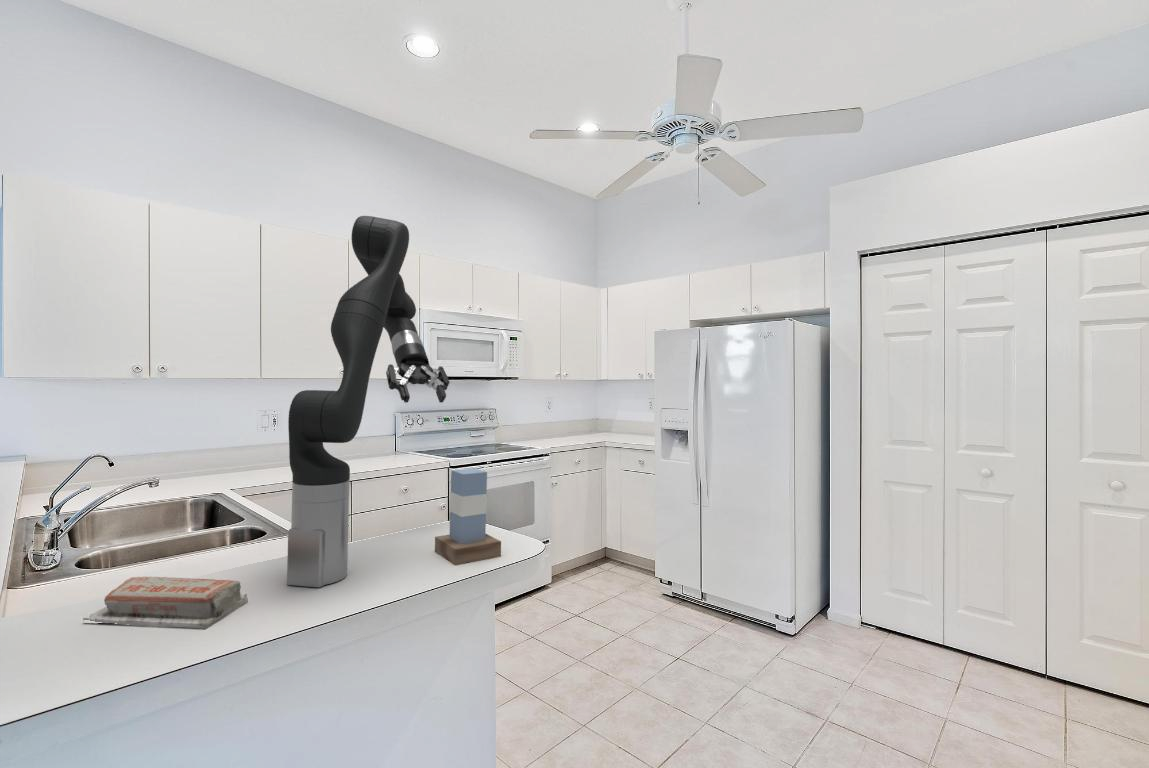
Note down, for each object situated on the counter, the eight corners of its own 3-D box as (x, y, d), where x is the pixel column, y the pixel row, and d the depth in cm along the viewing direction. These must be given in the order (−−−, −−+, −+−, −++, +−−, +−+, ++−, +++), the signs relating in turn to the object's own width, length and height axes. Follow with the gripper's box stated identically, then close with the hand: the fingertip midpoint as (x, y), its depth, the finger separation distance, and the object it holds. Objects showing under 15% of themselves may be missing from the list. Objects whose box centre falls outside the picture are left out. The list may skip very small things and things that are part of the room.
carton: (485, 540, 112) (487, 472, 112) (461, 544, 108) (463, 474, 108) (473, 533, 116) (474, 468, 116) (449, 537, 113) (450, 470, 112)
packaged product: (251, 573, 86) (207, 598, 76) (250, 603, 86) (206, 632, 76) (140, 568, 87) (82, 593, 77) (139, 598, 87) (81, 627, 77)
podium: (500, 556, 111) (501, 541, 111) (455, 565, 105) (455, 549, 105) (478, 543, 119) (478, 529, 119) (434, 551, 113) (435, 536, 113)
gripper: (384, 339, 130) (399, 389, 121) (440, 343, 138) (458, 389, 129) (376, 361, 134) (390, 411, 125) (432, 364, 143) (448, 410, 134)
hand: (425, 400), depth 127 cm, fingers open, 8 cm apart
